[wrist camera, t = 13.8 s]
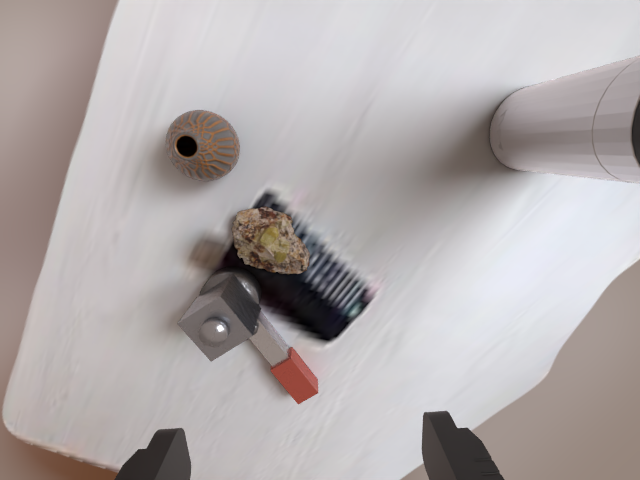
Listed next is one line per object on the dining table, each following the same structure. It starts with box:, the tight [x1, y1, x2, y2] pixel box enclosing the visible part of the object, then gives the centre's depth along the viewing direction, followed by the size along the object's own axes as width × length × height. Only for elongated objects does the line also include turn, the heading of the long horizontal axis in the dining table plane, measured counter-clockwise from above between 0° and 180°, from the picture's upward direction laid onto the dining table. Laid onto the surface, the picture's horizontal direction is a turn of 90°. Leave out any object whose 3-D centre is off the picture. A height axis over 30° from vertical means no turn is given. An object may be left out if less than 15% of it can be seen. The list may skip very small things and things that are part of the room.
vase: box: [166, 110, 240, 181], centre depth 33 cm, size 7×7×9 cm
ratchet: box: [199, 267, 318, 404], centre depth 41 cm, size 7×21×6 cm, turn 33°
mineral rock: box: [232, 207, 310, 275], centre depth 39 cm, size 11×4×8 cm
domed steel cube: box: [177, 274, 261, 361], centre depth 36 cm, size 5×5×7 cm
